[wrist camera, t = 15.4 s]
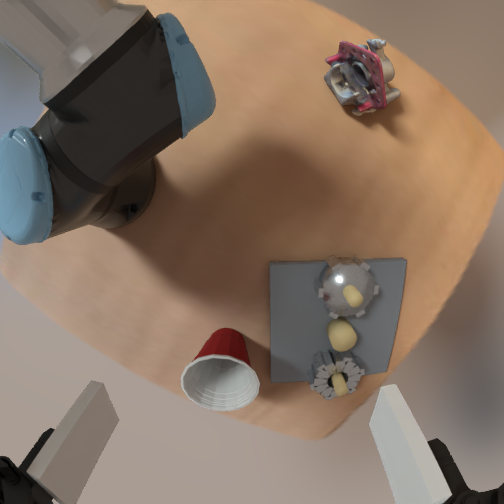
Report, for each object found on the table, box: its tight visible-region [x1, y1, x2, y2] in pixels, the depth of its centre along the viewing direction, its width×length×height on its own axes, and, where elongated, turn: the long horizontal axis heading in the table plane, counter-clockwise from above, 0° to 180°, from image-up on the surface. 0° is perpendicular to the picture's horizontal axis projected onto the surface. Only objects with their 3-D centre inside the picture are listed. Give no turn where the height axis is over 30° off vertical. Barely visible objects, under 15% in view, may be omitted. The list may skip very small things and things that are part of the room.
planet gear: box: [307, 348, 365, 400], centre depth 43 cm, size 9×9×4 cm
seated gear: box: [314, 255, 379, 319], centre depth 39 cm, size 9×8×4 cm
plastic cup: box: [181, 328, 260, 411], centre depth 40 cm, size 11×11×12 cm
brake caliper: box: [324, 39, 400, 116], centre depth 31 cm, size 11×11×12 cm
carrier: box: [269, 258, 407, 397], centre depth 40 cm, size 22×22×8 cm
